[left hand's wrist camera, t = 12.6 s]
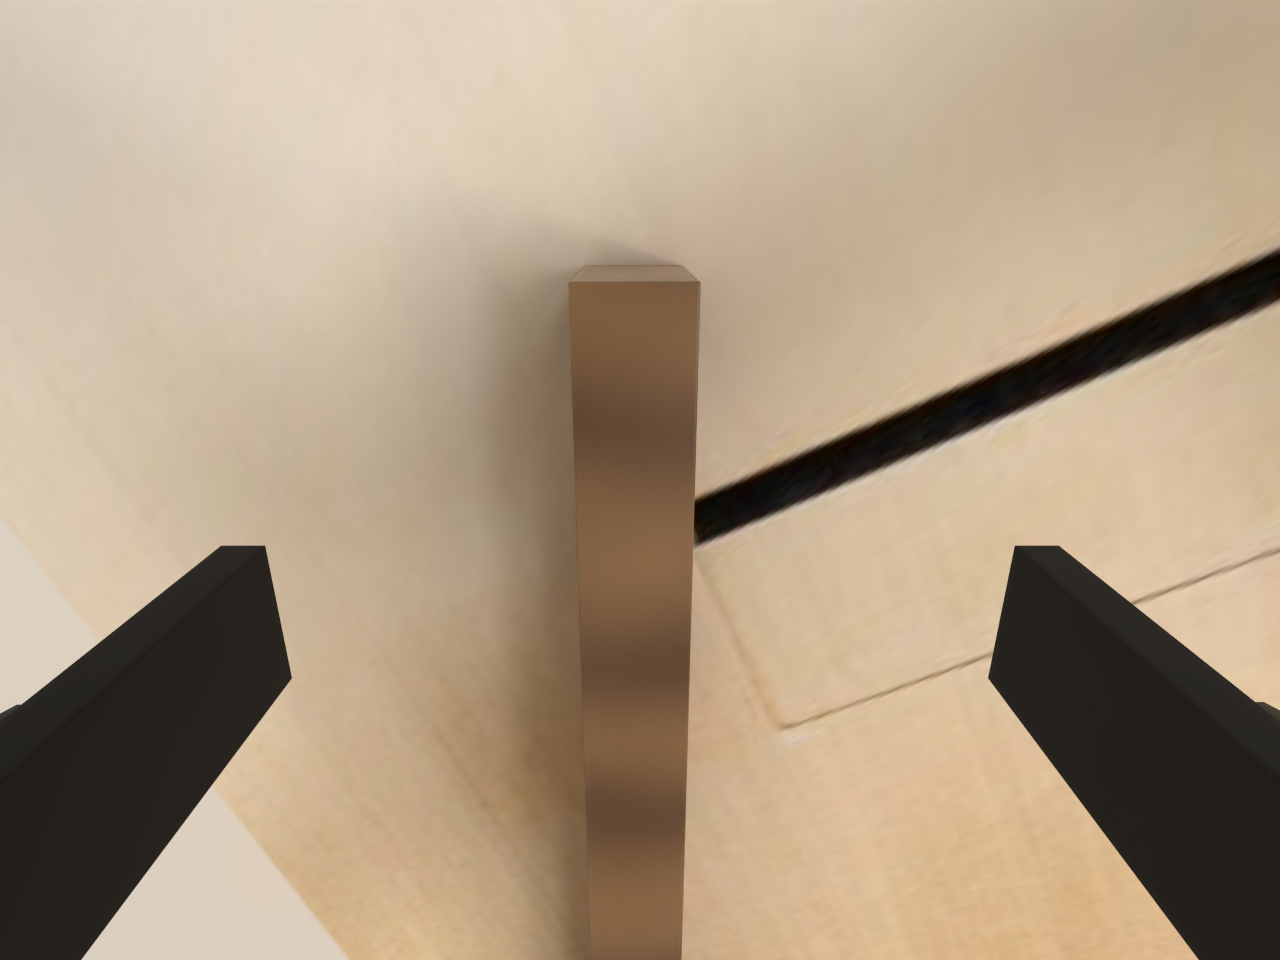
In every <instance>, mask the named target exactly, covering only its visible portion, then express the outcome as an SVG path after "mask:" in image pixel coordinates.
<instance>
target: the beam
mask: <svg viewBox="0 0 1280 960" xmlns="http://www.w3.org/2000/svg"><path fill="white" fill-rule="evenodd" d="M569 310H570V340H571V371H572V401H573V432H574V462H575V493H576V523H577V554H578V584H579V615H580V645H581V676H582V706H583V737H584V767H585V798H586V829H587V859H588V890H589V920H590V951H591V960H681V957H682V922H683V886H684V851H685V815H686V780H687V744H688V709H689V673H690V638H691V602H692V567H693V531H694V496H695V460H696V425H697V390H698V354H699V319H700V281H698V280H697V279H696V278H695V277H694V276H693V275H692V274H691V273H690V272H689V271H688V270H686V269H685V268H684V267H683V266H584V267H583V268H582V269H581V270H580V271H579V272H578V274H577V275H576V276H575V277H574V278H573V279H572V280H571V281H570V282H569Z"/></svg>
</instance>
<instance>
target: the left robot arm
mask: <svg viewBox="0 0 1280 960" xmlns="http://www.w3.org/2000/svg"><path fill="white" fill-rule="evenodd" d="M291 679H292V677H291V672H290V667H289V662H288V657H287V652H286V647H285V642H284V637H283V632H282V627H281V622H280V617H279V612H278V607H277V602H276V597H275V592H274V588H273V583H272V578H271V573H270V568H269V563H268V558H267V553H266V548H265V546H220V547H219V548H218V549H217V550H215V551H214V552H213V553H212V554H210V555H209V556H208V557H207V558H205V559H204V560H203V561H202V562H200V563H199V564H198V565H197V566H195V567H194V568H193V569H191V570H190V571H189V572H188V573H186V574H185V575H184V576H183V577H181V578H180V579H179V580H178V581H176V582H175V583H174V584H173V585H171V586H170V587H169V588H168V589H166V590H165V591H164V592H163V593H161V594H160V595H159V596H158V597H156V598H155V599H154V600H153V601H151V602H150V603H149V604H147V605H146V606H145V607H144V608H142V609H141V610H140V611H139V612H137V613H136V614H135V615H134V616H132V617H131V618H130V619H129V620H127V621H126V622H125V623H124V624H122V625H121V626H120V627H119V628H117V629H116V630H115V631H114V632H112V633H111V634H110V635H109V636H107V637H106V638H105V639H103V640H102V641H101V642H100V643H98V644H97V645H96V646H95V647H93V648H92V649H91V650H90V651H88V652H87V653H86V654H85V655H83V656H82V657H81V658H80V659H78V660H77V661H76V662H75V663H73V664H72V665H71V666H70V667H68V668H67V669H66V670H65V671H63V672H62V673H61V674H60V675H58V676H57V677H56V678H55V679H53V680H52V681H51V682H49V683H48V684H47V685H46V686H44V687H43V688H42V689H41V690H39V691H38V692H37V693H36V694H34V695H33V696H32V697H31V698H29V699H28V700H27V701H26V702H24V703H23V704H22V705H16V706H14V707H12V708H10V709H8V710H6V711H4V712H2V713H1V714H0V960H81V959H82V958H83V957H84V955H85V954H86V953H87V951H88V950H89V949H90V947H91V946H92V945H93V943H94V942H95V941H96V939H97V938H98V937H99V935H100V934H101V933H102V931H103V930H104V929H105V927H106V926H107V924H108V923H109V922H110V920H111V919H112V918H113V916H114V915H115V914H116V912H117V911H118V910H119V908H120V907H121V906H122V904H123V903H124V902H125V900H126V899H127V898H128V896H129V895H130V894H131V892H132V891H133V890H134V888H135V887H136V886H137V884H138V883H139V882H140V880H141V879H142V878H143V876H144V875H145V874H146V872H147V871H148V870H149V868H150V867H151V866H152V864H153V863H154V862H155V860H156V859H157V858H158V856H159V855H160V854H161V852H162V851H163V850H164V848H165V847H166V846H167V844H168V843H169V842H170V840H171V839H172V838H173V836H174V835H175V834H176V832H177V831H178V829H179V828H180V827H181V826H182V824H183V823H184V822H185V820H186V819H187V818H188V816H189V815H190V814H191V812H192V811H193V810H194V808H195V807H196V806H197V804H198V803H199V802H200V800H201V799H202V798H203V796H204V795H205V794H206V792H207V791H208V789H209V788H210V787H211V785H212V784H213V783H214V781H215V780H216V779H217V777H218V776H219V775H220V773H221V772H222V771H223V769H224V768H225V767H226V765H227V764H228V763H229V761H230V760H231V759H232V757H233V756H234V755H235V753H236V752H237V751H238V749H239V748H240V747H241V745H242V744H243V743H244V741H245V740H246V739H247V737H248V736H249V735H250V733H251V732H252V731H253V729H254V728H255V727H256V725H257V724H258V723H259V721H260V720H261V719H262V717H263V716H264V715H265V713H266V712H267V711H268V709H269V708H270V707H271V705H272V704H273V703H274V701H275V700H276V699H277V697H278V696H279V695H280V693H281V692H282V691H283V689H284V688H285V687H286V685H287V684H288V683H289V681H290V680H291ZM988 679H989V680H990V681H991V683H992V684H993V685H994V687H995V688H996V689H997V691H998V692H999V693H1000V695H1001V696H1002V697H1003V699H1004V700H1005V701H1006V703H1007V704H1008V705H1009V707H1010V708H1011V709H1012V711H1013V712H1014V713H1015V715H1016V716H1017V717H1018V719H1019V720H1020V721H1021V723H1022V724H1023V725H1024V727H1025V728H1026V729H1027V731H1028V732H1029V733H1030V735H1031V736H1032V737H1033V739H1034V740H1035V741H1036V743H1037V744H1038V745H1039V747H1040V748H1041V749H1042V751H1043V752H1044V753H1045V755H1046V756H1047V757H1048V759H1049V760H1050V761H1051V763H1052V764H1053V765H1054V767H1055V768H1056V769H1057V771H1058V772H1059V773H1060V775H1061V776H1062V777H1063V779H1064V780H1065V781H1066V783H1067V784H1068V785H1069V787H1070V788H1071V789H1072V791H1073V792H1074V794H1075V795H1076V796H1077V798H1078V799H1079V800H1080V802H1081V803H1082V804H1083V806H1084V807H1085V808H1086V810H1087V811H1088V812H1089V814H1090V815H1091V816H1092V818H1093V819H1094V820H1095V822H1096V823H1097V824H1098V826H1099V827H1100V828H1101V830H1102V831H1103V832H1104V834H1105V835H1106V836H1107V838H1108V839H1109V840H1110V842H1111V843H1112V844H1113V846H1114V847H1115V848H1116V850H1117V851H1118V852H1119V854H1120V855H1121V856H1122V858H1123V859H1124V860H1125V862H1126V863H1127V864H1128V866H1129V867H1130V868H1131V870H1132V871H1133V872H1134V874H1135V875H1136V876H1137V878H1138V879H1139V880H1140V882H1141V883H1142V884H1143V886H1144V887H1145V888H1146V890H1147V891H1148V892H1149V894H1150V895H1151V896H1152V898H1153V899H1154V900H1155V902H1156V903H1157V904H1158V906H1159V907H1160V908H1161V910H1162V911H1163V912H1164V914H1165V915H1166V916H1167V918H1168V919H1169V921H1170V922H1171V923H1172V925H1173V926H1174V927H1175V929H1176V930H1177V931H1178V933H1179V934H1180V935H1181V937H1182V938H1183V939H1184V941H1185V942H1186V943H1187V945H1188V946H1189V947H1190V949H1191V950H1192V951H1193V953H1194V954H1195V955H1196V957H1197V958H1198V959H1199V960H1280V710H1278V709H1276V708H1274V707H1272V706H1270V705H1268V704H1266V703H1264V702H1254V701H1253V700H1252V699H1251V698H1249V697H1248V696H1247V695H1246V694H1244V693H1243V692H1242V691H1241V690H1239V689H1238V688H1237V687H1236V686H1234V685H1233V684H1232V683H1231V682H1229V681H1228V680H1227V679H1226V678H1224V677H1223V676H1222V675H1220V674H1219V673H1218V672H1217V671H1215V670H1214V669H1213V668H1212V667H1210V666H1209V665H1208V664H1207V663H1205V662H1204V661H1203V660H1202V659H1200V658H1199V657H1198V656H1197V655H1195V654H1194V653H1193V652H1192V651H1190V650H1189V649H1188V648H1187V647H1185V646H1184V645H1183V644H1182V643H1180V642H1179V641H1178V640H1177V639H1175V638H1174V637H1173V636H1171V635H1170V634H1169V633H1168V632H1166V631H1165V630H1164V629H1163V628H1161V627H1160V626H1159V625H1158V624H1156V623H1155V622H1154V621H1153V620H1151V619H1150V618H1149V617H1148V616H1146V615H1145V614H1144V613H1143V612H1141V611H1140V610H1139V609H1138V608H1136V607H1135V606H1134V605H1133V604H1131V603H1130V602H1129V601H1127V600H1126V599H1125V598H1124V597H1122V596H1121V595H1120V594H1119V593H1117V592H1116V591H1115V590H1114V589H1112V588H1111V587H1110V586H1109V585H1107V584H1106V583H1105V582H1104V581H1102V580H1101V579H1100V578H1099V577H1097V576H1096V575H1095V574H1094V573H1092V572H1091V571H1090V570H1089V569H1087V568H1086V567H1085V566H1083V565H1082V564H1081V563H1080V562H1078V561H1077V560H1076V559H1075V558H1073V557H1072V556H1071V555H1070V554H1068V553H1067V552H1066V551H1065V550H1063V549H1062V548H1061V547H1060V546H1015V548H1014V553H1013V558H1012V563H1011V568H1010V573H1009V578H1008V583H1007V588H1006V592H1005V597H1004V602H1003V607H1002V612H1001V617H1000V622H999V627H998V632H997V637H996V642H995V647H994V652H993V657H992V662H991V667H990V672H989V677H988Z"/></svg>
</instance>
